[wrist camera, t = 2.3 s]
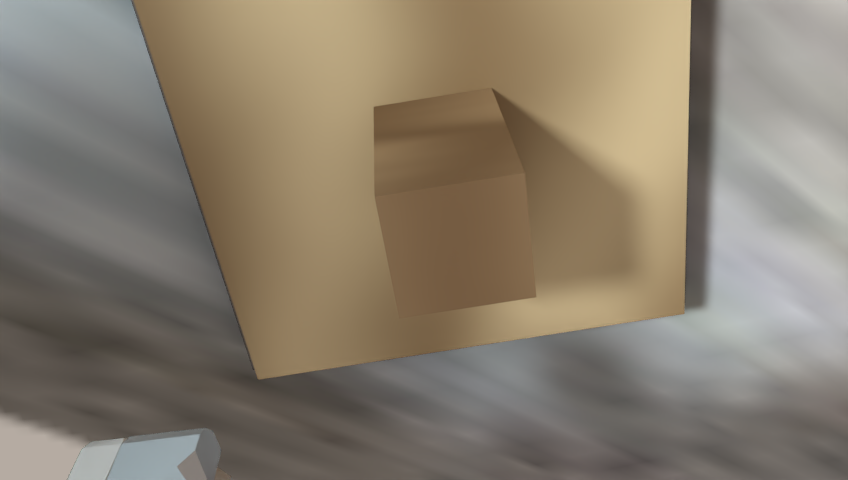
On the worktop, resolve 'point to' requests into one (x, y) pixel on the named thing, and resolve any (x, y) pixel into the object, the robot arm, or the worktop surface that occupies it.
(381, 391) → the worktop surface
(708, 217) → the worktop surface
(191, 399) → the worktop surface
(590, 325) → the lid
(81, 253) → the worktop surface
